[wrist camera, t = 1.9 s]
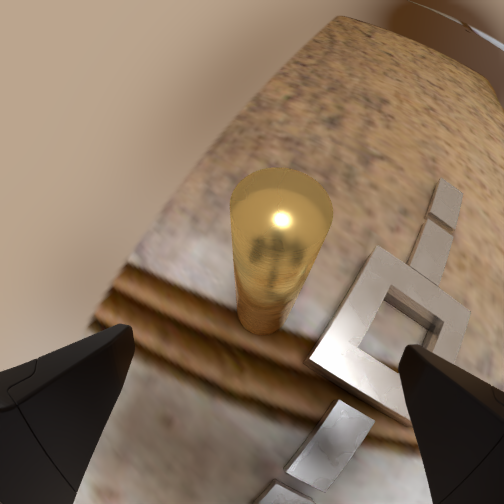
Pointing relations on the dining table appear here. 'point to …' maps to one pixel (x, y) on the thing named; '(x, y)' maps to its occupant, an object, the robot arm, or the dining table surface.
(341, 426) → the square frame with tiles
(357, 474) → the dining table surface
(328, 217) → the pin
